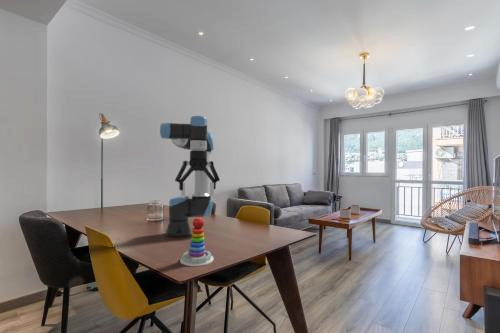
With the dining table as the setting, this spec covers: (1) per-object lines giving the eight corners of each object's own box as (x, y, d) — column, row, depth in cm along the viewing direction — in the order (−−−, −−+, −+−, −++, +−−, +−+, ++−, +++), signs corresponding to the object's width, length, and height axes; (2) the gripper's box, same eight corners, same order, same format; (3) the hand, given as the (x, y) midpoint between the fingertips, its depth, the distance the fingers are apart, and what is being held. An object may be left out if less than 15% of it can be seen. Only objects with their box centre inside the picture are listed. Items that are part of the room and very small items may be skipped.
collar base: (172, 261, 118) (172, 256, 118) (195, 252, 131) (195, 247, 131) (198, 268, 110) (198, 262, 110) (220, 258, 123) (220, 252, 123)
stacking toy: (192, 262, 115) (192, 219, 115) (185, 257, 122) (185, 216, 122) (208, 259, 120) (209, 218, 120) (201, 254, 126) (201, 215, 126)
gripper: (172, 148, 111) (172, 199, 111) (226, 151, 123) (226, 196, 123) (168, 149, 117) (168, 197, 118) (220, 151, 130) (219, 194, 130)
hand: (197, 197), depth 120 cm, fingers open, 13 cm apart
